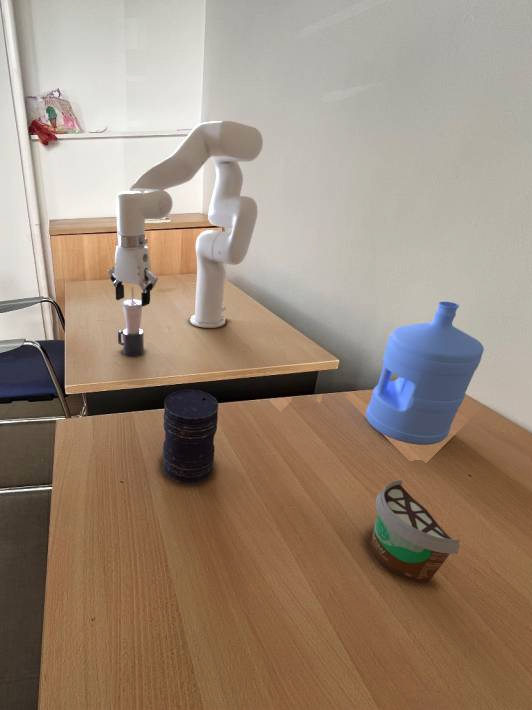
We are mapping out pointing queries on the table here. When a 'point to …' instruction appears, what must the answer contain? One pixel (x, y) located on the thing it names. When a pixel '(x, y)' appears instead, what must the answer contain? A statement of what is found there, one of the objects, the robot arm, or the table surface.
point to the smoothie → (132, 314)
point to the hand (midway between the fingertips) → (132, 301)
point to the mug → (132, 342)
